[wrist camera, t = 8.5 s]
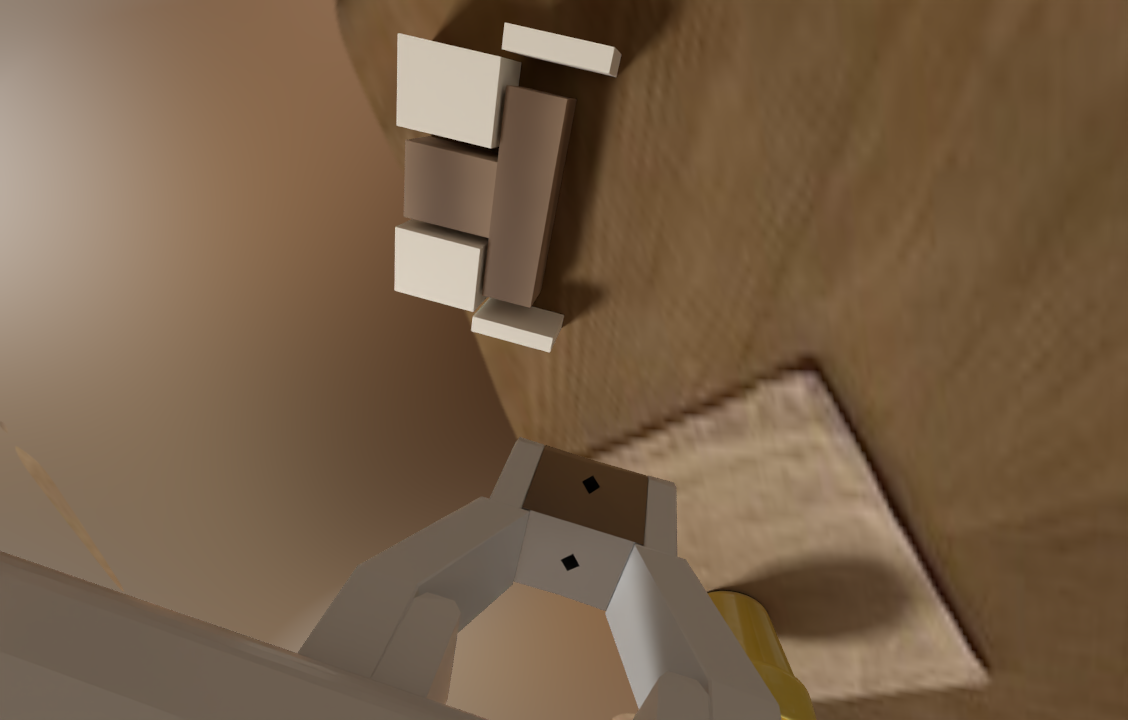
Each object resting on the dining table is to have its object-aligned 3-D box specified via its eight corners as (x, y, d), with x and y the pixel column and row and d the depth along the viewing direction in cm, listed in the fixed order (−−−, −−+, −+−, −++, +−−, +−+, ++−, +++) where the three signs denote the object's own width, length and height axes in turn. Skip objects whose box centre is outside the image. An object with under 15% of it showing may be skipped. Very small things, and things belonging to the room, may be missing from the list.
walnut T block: (577, 99, 25) (567, 99, 22) (541, 290, 30) (530, 307, 28) (433, 65, 25) (407, 61, 23) (424, 259, 31) (402, 274, 28)
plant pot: (730, 663, 45) (744, 793, 36) (644, 609, 43) (639, 731, 35) (818, 619, 40) (858, 759, 31) (724, 558, 38) (740, 685, 30)
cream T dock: (621, 54, 23) (614, 47, 20) (561, 328, 31) (549, 352, 28) (432, 11, 24) (398, -2, 21) (420, 290, 32) (394, 309, 29)
